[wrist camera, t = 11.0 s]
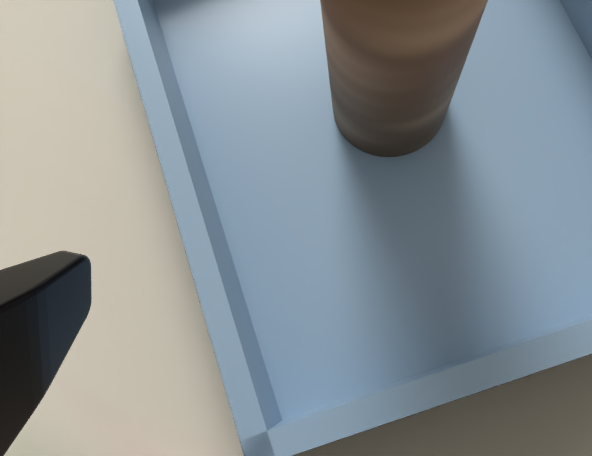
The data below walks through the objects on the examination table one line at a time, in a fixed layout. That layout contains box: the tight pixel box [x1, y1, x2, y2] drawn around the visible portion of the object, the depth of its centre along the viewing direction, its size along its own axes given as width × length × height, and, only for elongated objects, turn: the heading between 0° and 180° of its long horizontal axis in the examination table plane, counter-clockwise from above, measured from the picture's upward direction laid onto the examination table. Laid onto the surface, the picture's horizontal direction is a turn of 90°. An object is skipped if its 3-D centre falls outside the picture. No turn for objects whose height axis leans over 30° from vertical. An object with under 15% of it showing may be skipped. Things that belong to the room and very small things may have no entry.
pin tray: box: [114, 0, 592, 456], centre depth 19 cm, size 20×16×4 cm
